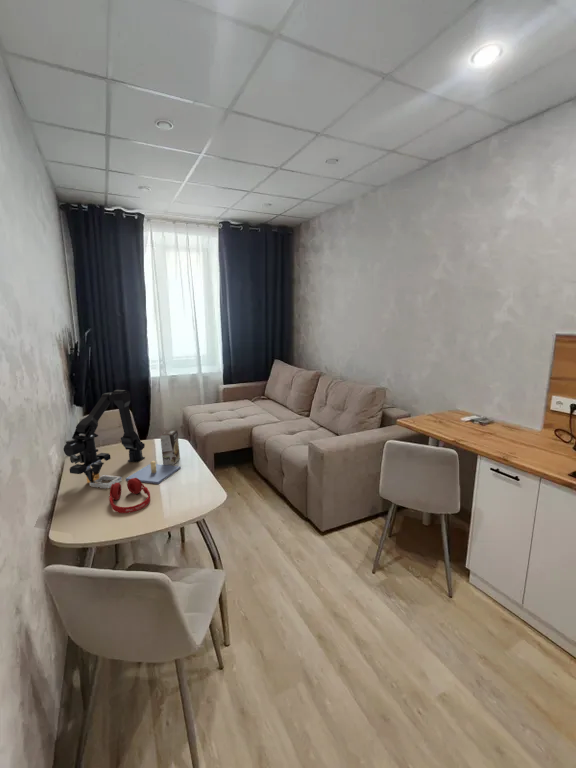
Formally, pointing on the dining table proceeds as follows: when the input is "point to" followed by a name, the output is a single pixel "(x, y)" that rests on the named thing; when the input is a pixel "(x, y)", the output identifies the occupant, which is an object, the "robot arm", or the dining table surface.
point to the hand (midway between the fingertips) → (93, 480)
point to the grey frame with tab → (97, 480)
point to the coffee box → (170, 447)
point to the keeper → (154, 473)
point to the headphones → (135, 488)
